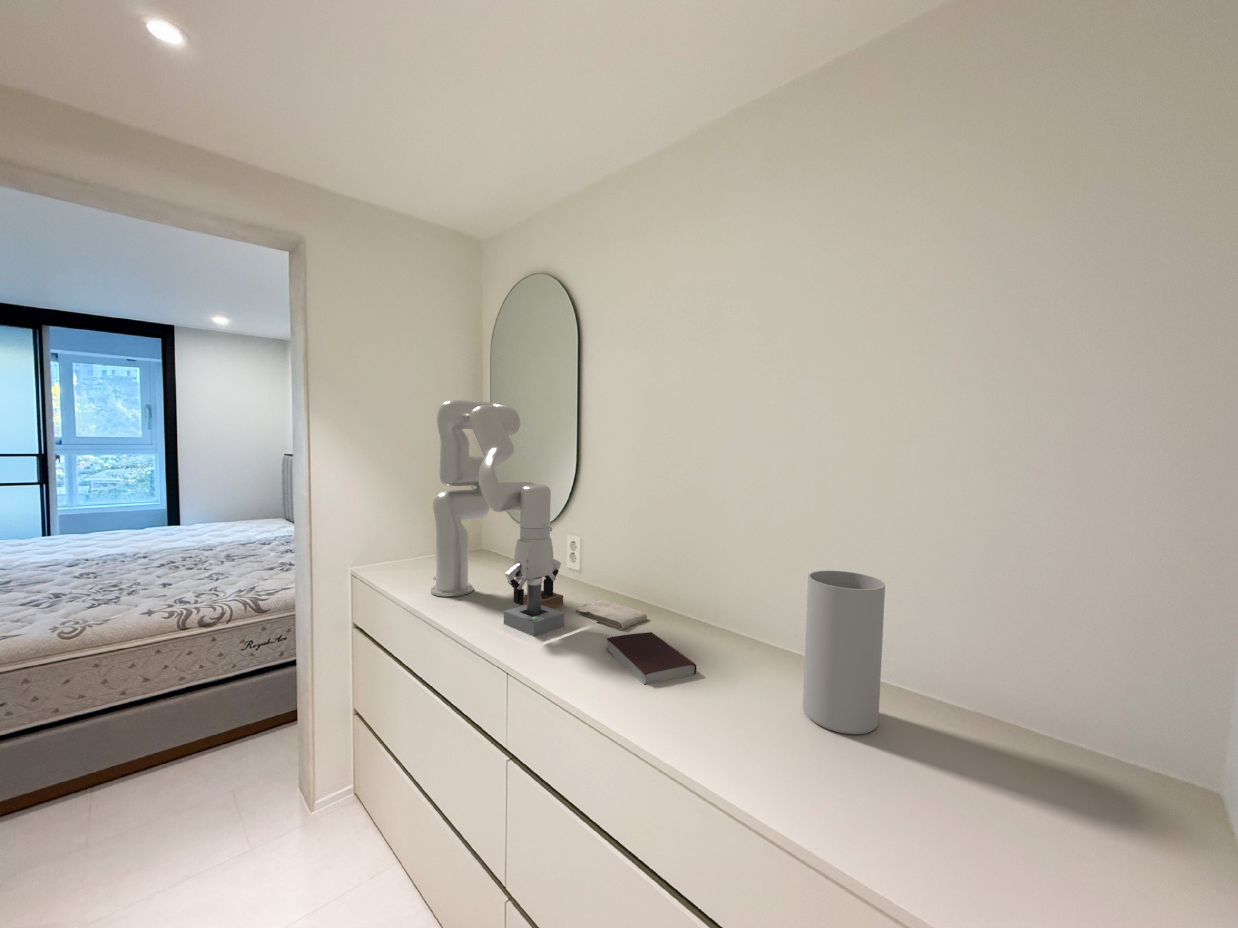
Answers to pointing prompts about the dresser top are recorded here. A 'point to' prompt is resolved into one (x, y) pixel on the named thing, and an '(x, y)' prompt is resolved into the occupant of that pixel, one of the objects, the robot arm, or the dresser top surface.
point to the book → (649, 657)
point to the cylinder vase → (843, 650)
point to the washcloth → (611, 614)
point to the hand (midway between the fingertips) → (533, 599)
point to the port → (533, 620)
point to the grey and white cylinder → (534, 597)
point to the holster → (550, 600)
